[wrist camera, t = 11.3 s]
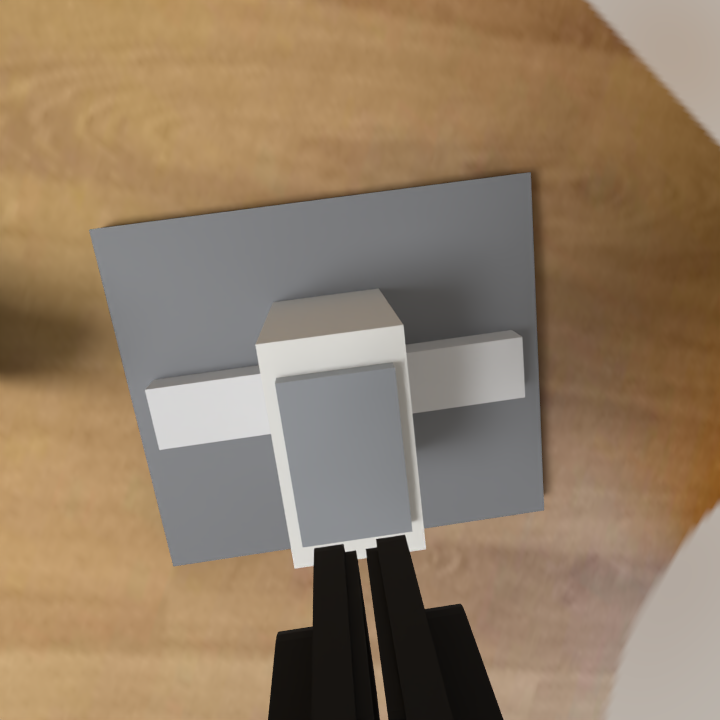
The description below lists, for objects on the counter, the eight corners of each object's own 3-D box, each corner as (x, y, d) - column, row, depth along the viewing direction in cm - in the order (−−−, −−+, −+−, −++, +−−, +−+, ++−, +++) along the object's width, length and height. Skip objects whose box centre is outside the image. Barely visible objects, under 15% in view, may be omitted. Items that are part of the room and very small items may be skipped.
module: (273, 302, 22) (253, 349, 15) (378, 288, 22) (406, 328, 15) (300, 470, 24) (293, 579, 17) (397, 456, 24) (428, 559, 17)
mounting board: (101, 227, 22) (75, 231, 19) (519, 173, 22) (543, 170, 20) (179, 549, 25) (166, 584, 23) (534, 496, 26) (555, 525, 24)
